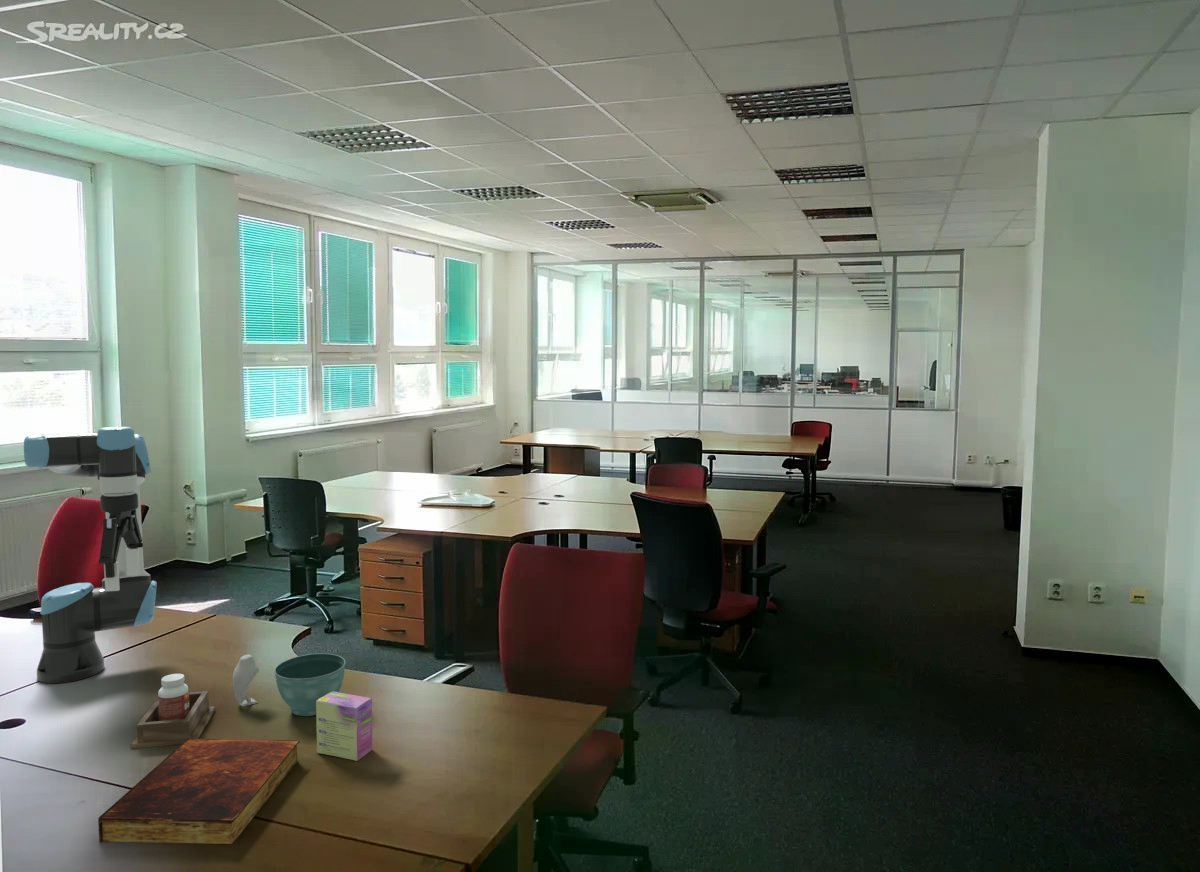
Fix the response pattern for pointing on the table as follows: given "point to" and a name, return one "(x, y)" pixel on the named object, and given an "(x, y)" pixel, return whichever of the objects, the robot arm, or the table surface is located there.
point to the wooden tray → (174, 724)
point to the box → (344, 725)
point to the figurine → (244, 679)
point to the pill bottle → (173, 698)
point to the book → (200, 792)
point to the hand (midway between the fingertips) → (123, 582)
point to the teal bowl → (309, 680)
